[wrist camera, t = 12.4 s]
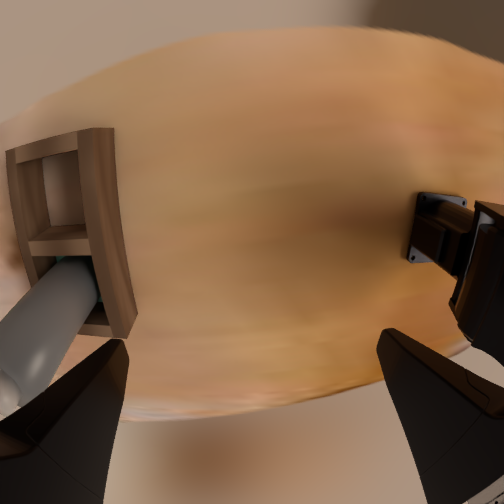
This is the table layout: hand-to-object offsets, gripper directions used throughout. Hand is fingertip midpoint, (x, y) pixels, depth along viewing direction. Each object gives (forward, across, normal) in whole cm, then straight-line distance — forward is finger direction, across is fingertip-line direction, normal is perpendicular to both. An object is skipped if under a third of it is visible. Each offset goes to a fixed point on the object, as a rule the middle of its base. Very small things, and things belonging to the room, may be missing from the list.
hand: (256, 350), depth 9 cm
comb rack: (+13, +14, 0) cm, 19 cm away
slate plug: (+13, +14, +4) cm, 19 cm away
